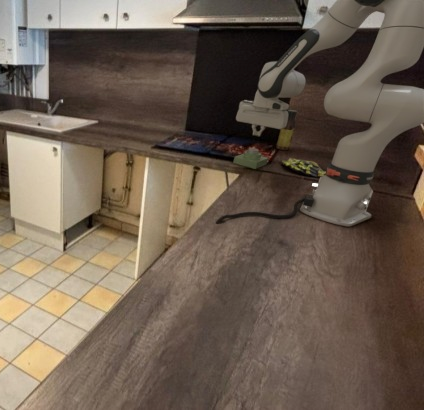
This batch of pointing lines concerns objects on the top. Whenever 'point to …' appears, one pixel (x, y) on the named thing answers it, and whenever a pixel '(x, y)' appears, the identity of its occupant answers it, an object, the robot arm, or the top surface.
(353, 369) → the top surface
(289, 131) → the sauce bottle
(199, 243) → the top surface
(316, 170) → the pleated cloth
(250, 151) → the pump
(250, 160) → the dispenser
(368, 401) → the top surface
